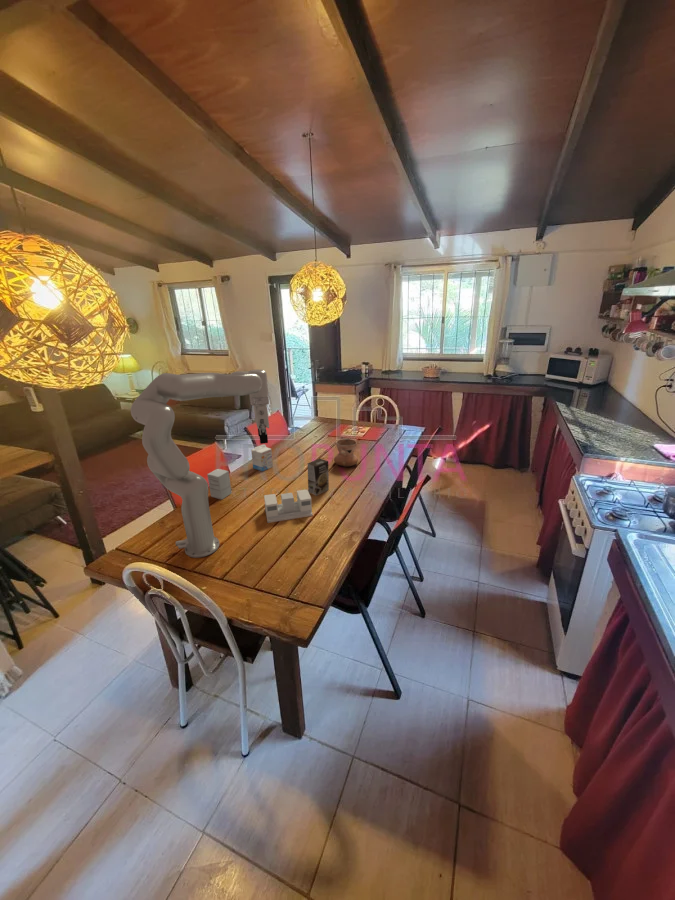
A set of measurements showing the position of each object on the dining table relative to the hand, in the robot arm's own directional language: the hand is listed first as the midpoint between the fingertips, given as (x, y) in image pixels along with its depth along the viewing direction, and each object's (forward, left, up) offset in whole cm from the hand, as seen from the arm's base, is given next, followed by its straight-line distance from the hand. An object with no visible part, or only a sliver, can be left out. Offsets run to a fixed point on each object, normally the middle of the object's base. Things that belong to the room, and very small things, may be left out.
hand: (263, 439), depth 148 cm
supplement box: (-22, +20, -34) cm, 46 cm away
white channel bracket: (+8, -6, -34) cm, 36 cm away
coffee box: (+26, +10, -34) cm, 44 cm away
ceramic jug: (+50, +39, -35) cm, 72 cm away
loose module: (+8, -6, -33) cm, 34 cm away
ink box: (+1, +48, -35) cm, 59 cm away
